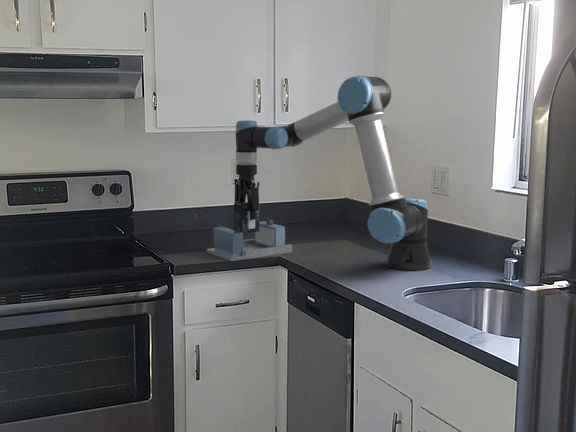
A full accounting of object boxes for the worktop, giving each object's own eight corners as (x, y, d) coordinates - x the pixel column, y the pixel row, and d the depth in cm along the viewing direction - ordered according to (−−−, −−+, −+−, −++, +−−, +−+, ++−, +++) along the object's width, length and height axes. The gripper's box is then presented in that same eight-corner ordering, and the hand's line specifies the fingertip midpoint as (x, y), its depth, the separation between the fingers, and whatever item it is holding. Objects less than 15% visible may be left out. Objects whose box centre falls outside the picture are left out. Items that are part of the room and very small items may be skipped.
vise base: (292, 252, 274) (292, 227, 272) (231, 261, 259) (231, 235, 258) (265, 244, 288) (265, 220, 287) (206, 252, 274) (206, 227, 272)
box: (241, 233, 268) (241, 204, 266) (233, 231, 272) (233, 202, 271) (260, 231, 272) (259, 203, 270) (252, 229, 277) (251, 201, 275)
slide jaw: (284, 248, 274) (284, 222, 273) (274, 249, 272) (274, 223, 270) (264, 241, 286) (264, 217, 284) (254, 243, 283) (254, 218, 281)
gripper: (269, 165, 263) (269, 230, 266) (241, 161, 278) (242, 222, 282) (251, 166, 258) (251, 232, 262) (224, 162, 274) (224, 224, 277)
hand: (246, 227), depth 272 cm, fingers closed on box, 6 cm apart
